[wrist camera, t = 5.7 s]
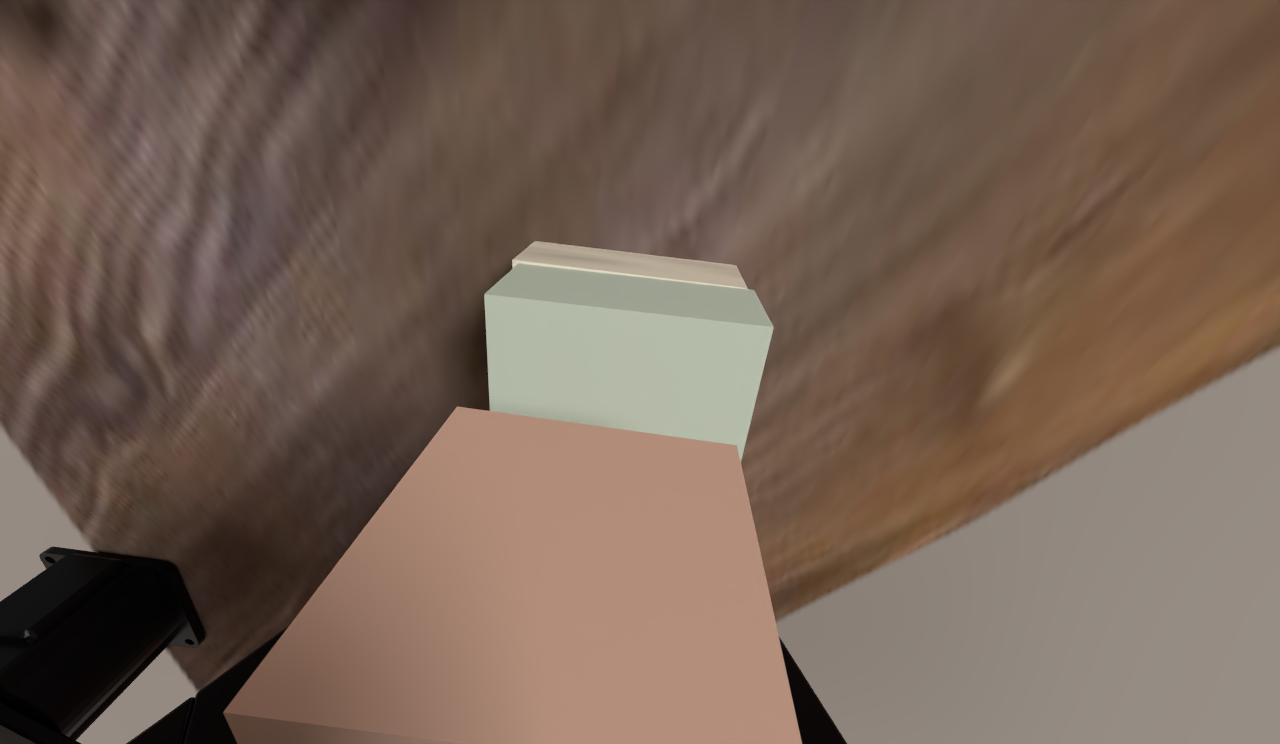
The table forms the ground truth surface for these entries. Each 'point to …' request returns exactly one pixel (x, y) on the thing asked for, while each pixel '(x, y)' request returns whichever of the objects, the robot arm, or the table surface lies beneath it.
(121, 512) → the table surface
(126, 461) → the table surface
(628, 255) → the block
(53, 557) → the robot arm
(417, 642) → the tan block
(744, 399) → the tower top
